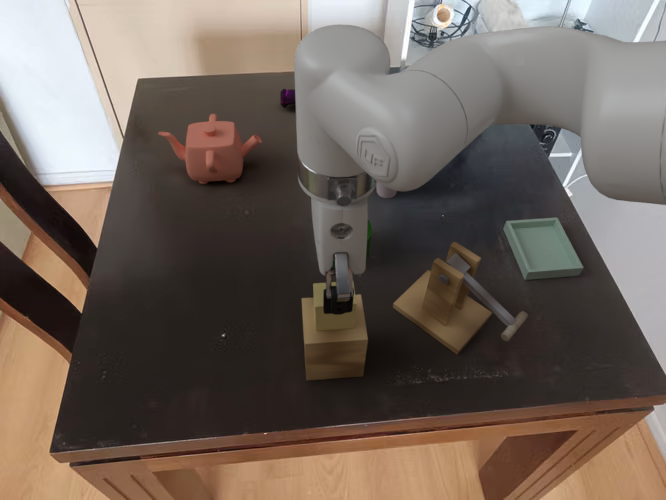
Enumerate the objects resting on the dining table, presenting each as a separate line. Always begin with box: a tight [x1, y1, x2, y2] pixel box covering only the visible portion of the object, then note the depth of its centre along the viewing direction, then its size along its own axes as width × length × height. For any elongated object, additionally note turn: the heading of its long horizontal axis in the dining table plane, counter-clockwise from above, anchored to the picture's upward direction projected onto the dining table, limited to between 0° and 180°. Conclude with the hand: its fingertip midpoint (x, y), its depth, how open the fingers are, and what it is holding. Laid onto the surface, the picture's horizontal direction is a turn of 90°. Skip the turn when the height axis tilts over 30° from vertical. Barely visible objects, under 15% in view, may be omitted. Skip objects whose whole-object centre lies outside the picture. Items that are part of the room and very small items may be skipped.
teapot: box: [157, 113, 262, 185], centre depth 99 cm, size 14×12×10 cm
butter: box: [312, 281, 357, 331], centre depth 67 cm, size 5×4×6 cm
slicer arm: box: [445, 253, 529, 342], centre depth 73 cm, size 13×5×2 cm, turn 47°
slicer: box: [392, 241, 493, 355], centre depth 77 cm, size 12×9×13 cm
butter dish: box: [502, 217, 584, 281], centre depth 90 cm, size 11×9×2 cm
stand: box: [301, 293, 369, 381], centre depth 73 cm, size 8×7×10 cm
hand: (333, 276), depth 63 cm, fingers open, 9 cm apart
